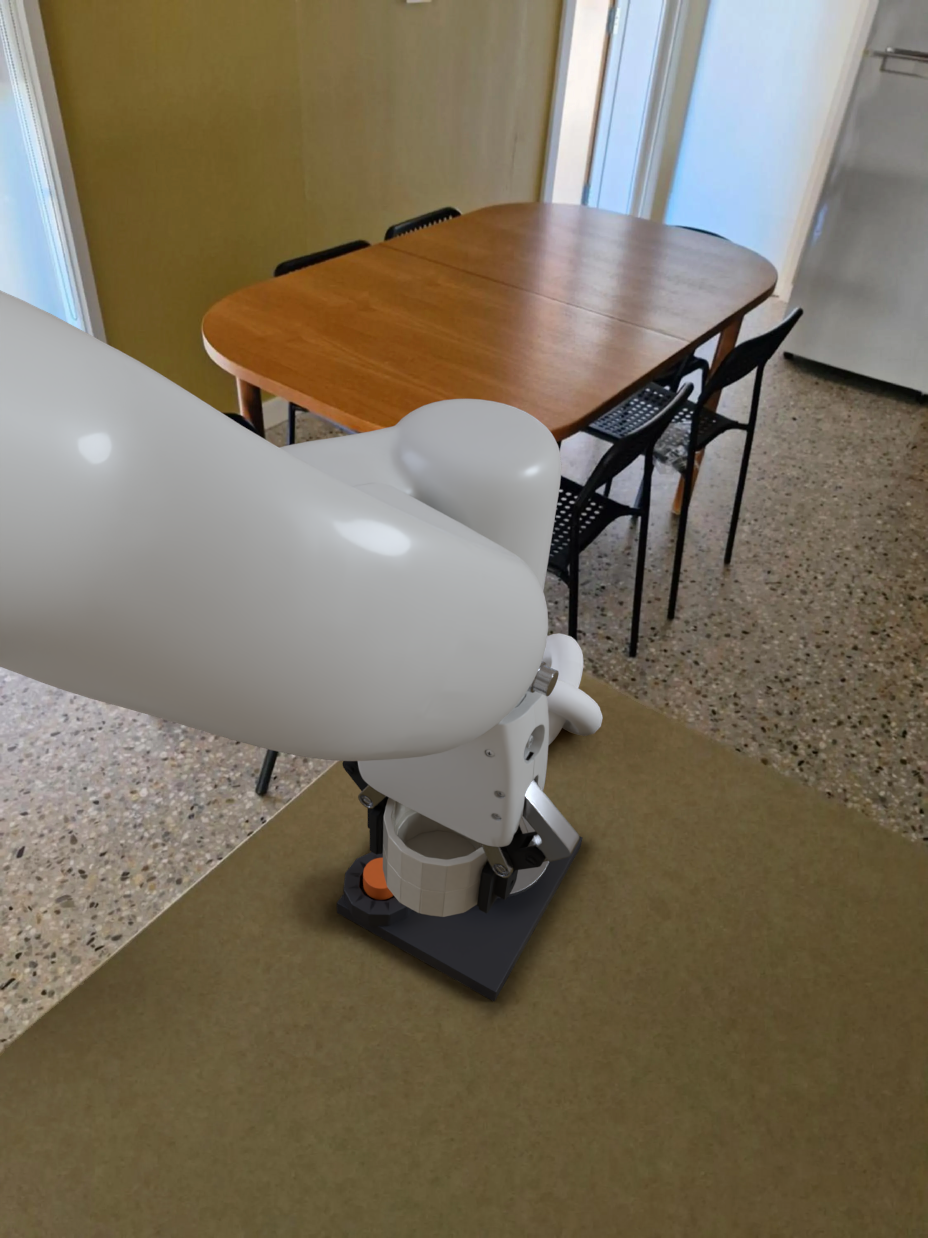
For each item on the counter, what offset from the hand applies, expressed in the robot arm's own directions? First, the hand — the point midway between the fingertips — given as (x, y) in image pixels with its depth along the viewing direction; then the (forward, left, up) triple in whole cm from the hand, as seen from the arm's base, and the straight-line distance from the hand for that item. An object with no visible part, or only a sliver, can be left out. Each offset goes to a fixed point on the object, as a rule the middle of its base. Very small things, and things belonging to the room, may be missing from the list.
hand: (439, 863), depth 55 cm
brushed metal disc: (+12, +1, -13) cm, 18 cm away
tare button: (+4, +7, -13) cm, 16 cm away
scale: (+10, +3, -16) cm, 19 cm away
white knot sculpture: (+28, +6, -16) cm, 33 cm away
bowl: (0, 0, -1) cm, 1 cm away
